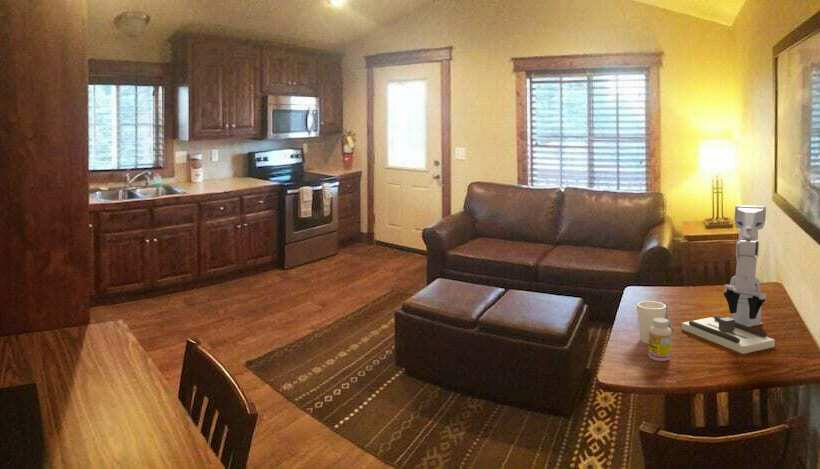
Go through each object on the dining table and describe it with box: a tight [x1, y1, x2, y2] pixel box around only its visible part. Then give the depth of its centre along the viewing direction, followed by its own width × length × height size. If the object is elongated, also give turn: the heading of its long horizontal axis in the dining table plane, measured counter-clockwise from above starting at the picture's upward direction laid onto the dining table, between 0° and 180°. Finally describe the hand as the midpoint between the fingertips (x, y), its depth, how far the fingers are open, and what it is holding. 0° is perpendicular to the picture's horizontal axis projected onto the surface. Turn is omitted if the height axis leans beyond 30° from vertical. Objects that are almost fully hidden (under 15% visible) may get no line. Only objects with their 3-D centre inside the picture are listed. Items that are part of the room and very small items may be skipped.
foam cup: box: [636, 300, 666, 345], centre depth 207 cm, size 10×9×13 cm
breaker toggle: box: [718, 316, 735, 332], centre depth 207 cm, size 4×3×4 cm
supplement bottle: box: [648, 318, 673, 362], centre depth 192 cm, size 7×7×13 cm
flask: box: [660, 301, 674, 332], centre depth 217 cm, size 7×7×10 cm
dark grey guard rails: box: [688, 315, 768, 343], centre depth 207 cm, size 14×20×2 cm
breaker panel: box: [681, 316, 776, 355], centre depth 208 cm, size 14×26×3 cm, turn 20°
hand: (742, 315), depth 200 cm, fingers open, 7 cm apart
